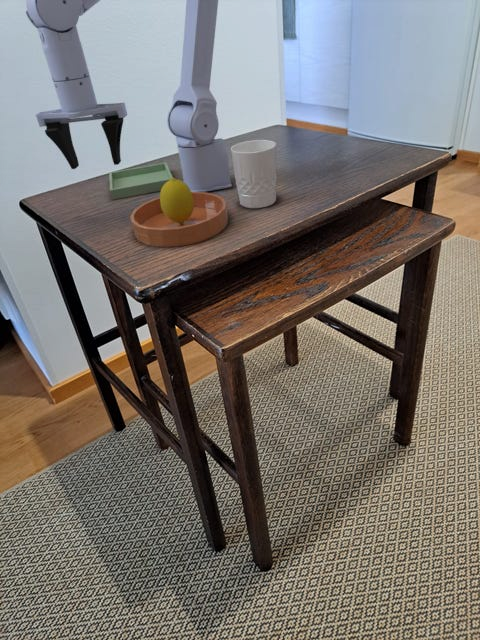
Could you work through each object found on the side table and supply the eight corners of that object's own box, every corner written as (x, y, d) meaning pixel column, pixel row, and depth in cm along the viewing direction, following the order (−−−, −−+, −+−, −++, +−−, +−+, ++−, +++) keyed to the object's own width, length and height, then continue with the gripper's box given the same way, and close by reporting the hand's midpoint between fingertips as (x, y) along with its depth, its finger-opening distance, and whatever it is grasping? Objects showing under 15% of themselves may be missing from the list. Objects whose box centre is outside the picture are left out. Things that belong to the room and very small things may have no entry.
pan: (217, 201, 85) (215, 186, 84) (237, 234, 72) (235, 217, 71) (132, 217, 83) (128, 202, 81) (137, 254, 70) (133, 237, 68)
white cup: (243, 213, 79) (237, 155, 73) (232, 199, 86) (225, 144, 80) (285, 204, 80) (282, 147, 75) (271, 191, 87) (267, 137, 81)
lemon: (188, 214, 81) (180, 170, 76) (202, 223, 77) (195, 177, 72) (160, 224, 78) (150, 178, 74) (173, 233, 74) (164, 186, 70)
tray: (168, 170, 105) (166, 162, 104) (175, 188, 94) (173, 178, 93) (111, 181, 103) (109, 172, 102) (112, 199, 92) (109, 190, 91)
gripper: (16, 87, 68) (48, 176, 76) (109, 76, 67) (131, 168, 75) (35, 80, 74) (62, 164, 82) (120, 70, 73) (140, 156, 80)
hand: (96, 165), depth 79 cm, fingers open, 7 cm apart
